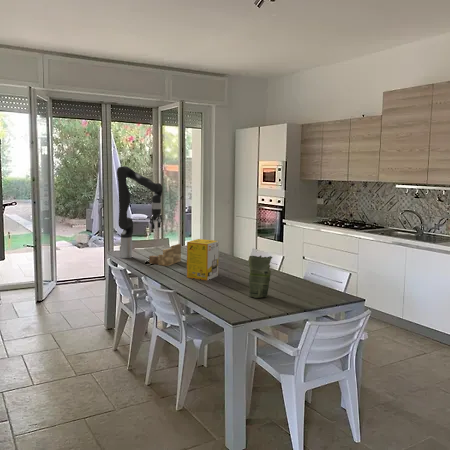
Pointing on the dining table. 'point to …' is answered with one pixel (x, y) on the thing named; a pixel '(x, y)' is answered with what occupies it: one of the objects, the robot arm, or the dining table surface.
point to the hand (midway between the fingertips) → (156, 228)
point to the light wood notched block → (170, 255)
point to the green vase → (259, 276)
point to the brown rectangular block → (154, 259)
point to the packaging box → (202, 259)
